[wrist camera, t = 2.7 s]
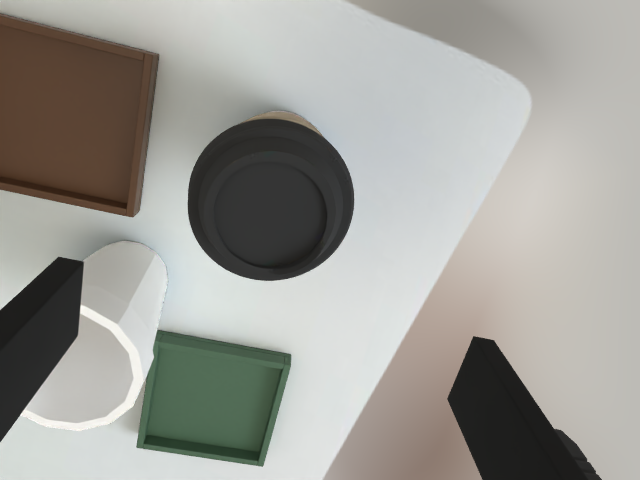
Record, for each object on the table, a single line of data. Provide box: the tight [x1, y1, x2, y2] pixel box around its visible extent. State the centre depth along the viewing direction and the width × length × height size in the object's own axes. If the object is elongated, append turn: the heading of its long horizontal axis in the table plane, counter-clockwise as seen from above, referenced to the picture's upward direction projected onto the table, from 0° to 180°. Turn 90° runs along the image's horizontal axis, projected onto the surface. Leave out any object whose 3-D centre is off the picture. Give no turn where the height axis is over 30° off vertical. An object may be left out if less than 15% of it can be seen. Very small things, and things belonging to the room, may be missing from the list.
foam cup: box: [21, 240, 168, 431], centre depth 36 cm, size 10×9×13 cm
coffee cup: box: [188, 111, 354, 281], centre depth 32 cm, size 9×9×15 cm
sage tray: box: [137, 330, 291, 467], centre depth 46 cm, size 12×12×2 cm
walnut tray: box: [0, 13, 159, 217], centre depth 36 cm, size 12×12×2 cm
